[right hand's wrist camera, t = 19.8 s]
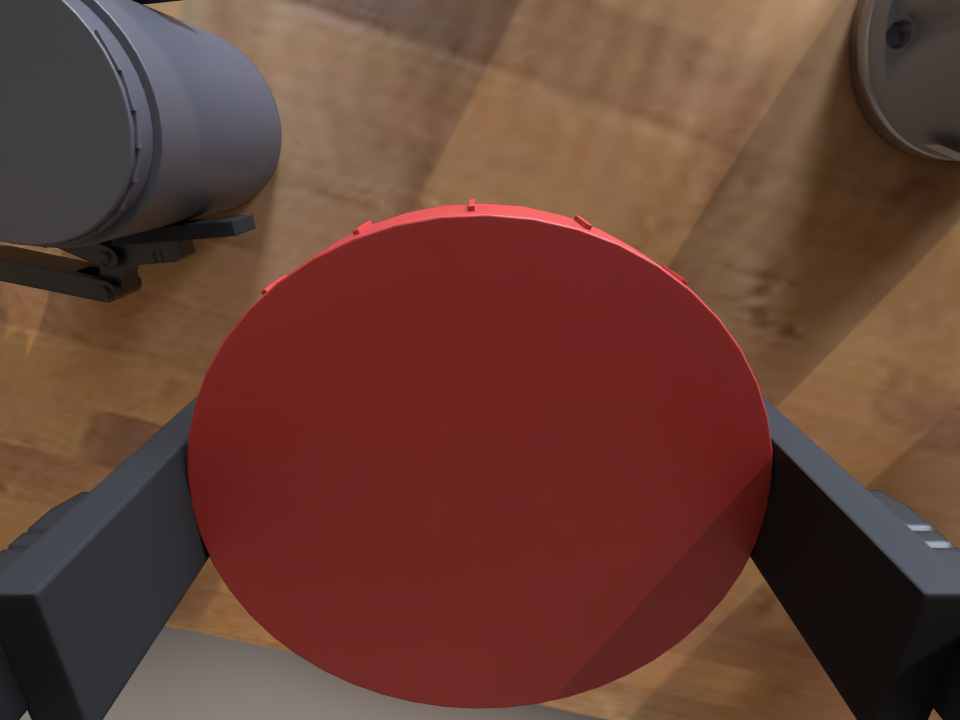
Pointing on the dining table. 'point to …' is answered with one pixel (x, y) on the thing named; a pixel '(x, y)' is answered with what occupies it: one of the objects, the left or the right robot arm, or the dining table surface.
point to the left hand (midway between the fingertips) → (217, 112)
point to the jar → (123, 122)
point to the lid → (479, 458)
